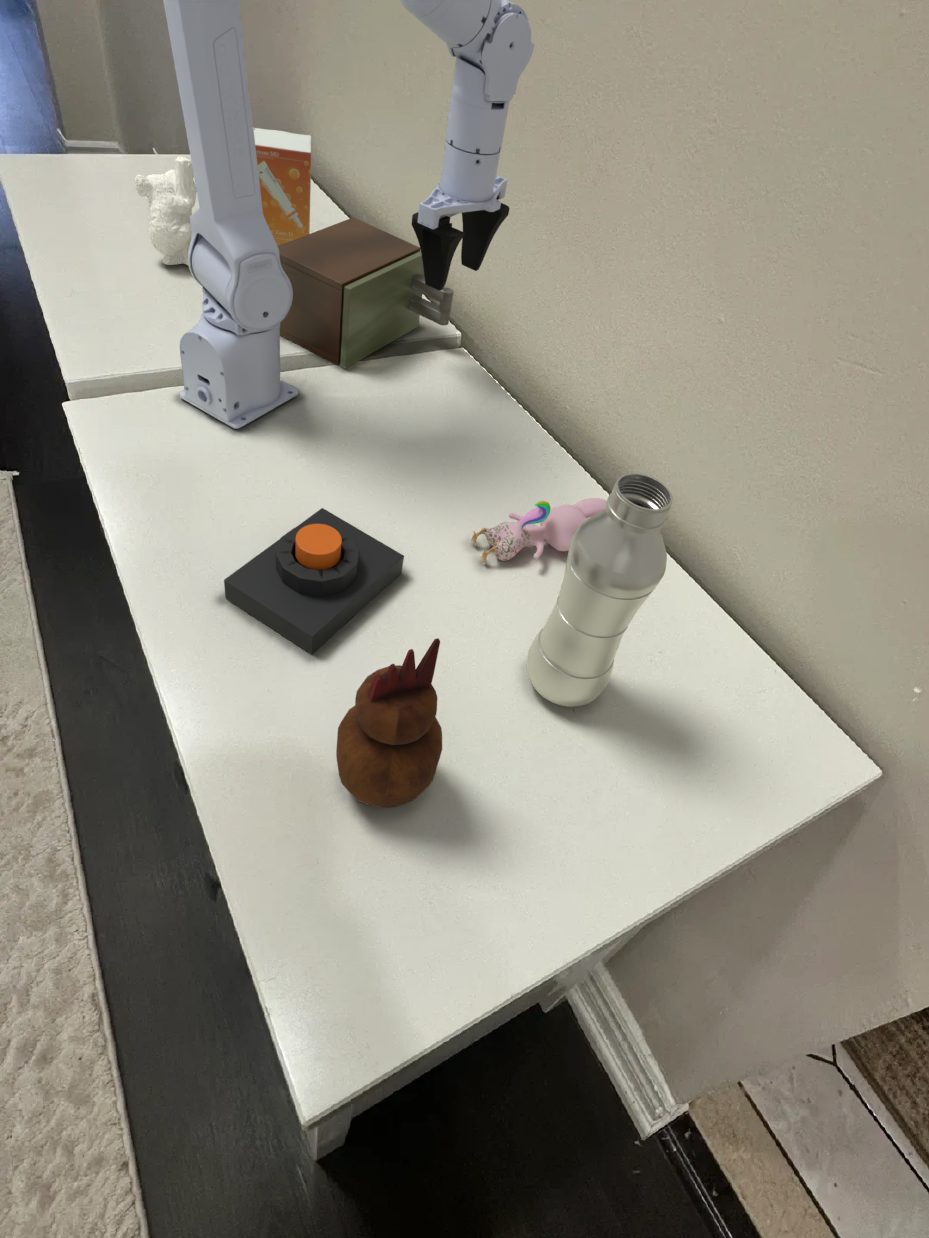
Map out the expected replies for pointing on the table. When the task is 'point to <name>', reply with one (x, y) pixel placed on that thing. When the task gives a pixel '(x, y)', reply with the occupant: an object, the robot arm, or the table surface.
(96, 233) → the table surface
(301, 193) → the small box
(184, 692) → the table surface
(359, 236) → the cupboard
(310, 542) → the button
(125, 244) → the table surface
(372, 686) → the wooden figurine
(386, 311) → the cupboard door
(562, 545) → the pink plastic animal figure
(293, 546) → the control block
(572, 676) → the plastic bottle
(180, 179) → the koala figurine
